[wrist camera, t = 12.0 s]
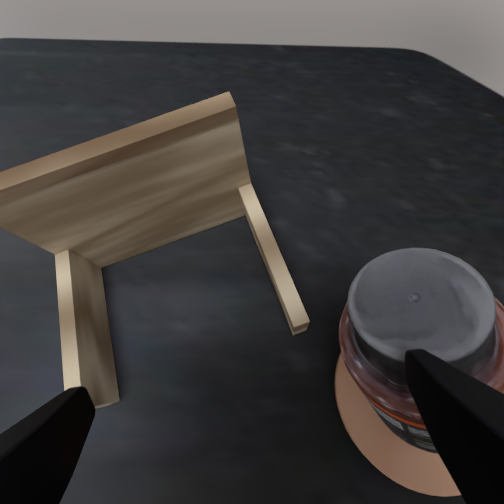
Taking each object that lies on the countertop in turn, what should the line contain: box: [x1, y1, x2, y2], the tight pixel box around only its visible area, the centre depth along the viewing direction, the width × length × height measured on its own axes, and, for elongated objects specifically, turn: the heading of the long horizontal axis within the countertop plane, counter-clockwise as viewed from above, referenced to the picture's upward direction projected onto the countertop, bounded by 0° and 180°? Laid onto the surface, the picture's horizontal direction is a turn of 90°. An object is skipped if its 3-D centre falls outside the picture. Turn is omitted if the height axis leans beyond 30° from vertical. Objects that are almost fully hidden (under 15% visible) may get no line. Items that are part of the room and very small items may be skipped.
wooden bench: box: [0, 92, 310, 408], centre depth 18 cm, size 12×15×11 cm
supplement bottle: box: [339, 248, 504, 454], centre depth 13 cm, size 6×6×11 cm
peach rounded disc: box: [334, 352, 461, 497], centre depth 18 cm, size 10×10×1 cm
